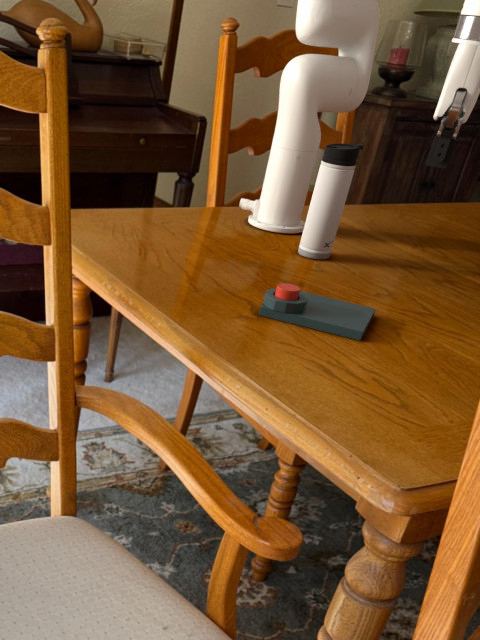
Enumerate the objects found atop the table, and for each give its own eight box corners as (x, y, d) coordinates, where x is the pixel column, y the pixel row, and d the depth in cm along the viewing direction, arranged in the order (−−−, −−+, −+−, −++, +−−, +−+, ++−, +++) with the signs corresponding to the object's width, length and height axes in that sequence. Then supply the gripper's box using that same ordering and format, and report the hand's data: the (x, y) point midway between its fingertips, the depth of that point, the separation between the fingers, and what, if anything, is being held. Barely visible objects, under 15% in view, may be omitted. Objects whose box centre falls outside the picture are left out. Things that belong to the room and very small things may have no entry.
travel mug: (332, 262, 141) (365, 147, 128) (298, 257, 141) (328, 143, 129) (329, 253, 146) (361, 142, 133) (296, 248, 146) (325, 137, 134)
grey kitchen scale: (256, 315, 114) (261, 296, 113) (276, 293, 123) (281, 276, 121) (359, 341, 109) (366, 322, 107) (373, 317, 118) (379, 299, 116)
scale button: (271, 298, 113) (274, 287, 112) (277, 292, 116) (280, 281, 115) (294, 303, 112) (297, 292, 111) (299, 297, 115) (302, 286, 114)
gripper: (457, 30, 113) (418, 151, 123) (452, 30, 100) (408, 166, 111) (509, 35, 111) (464, 158, 121) (510, 36, 98) (460, 174, 108)
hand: (438, 162), depth 116 cm, fingers open, 9 cm apart
